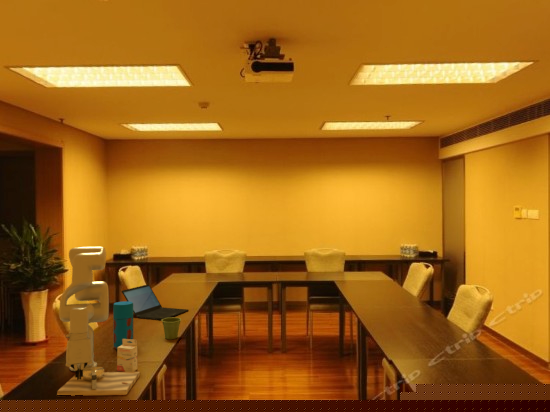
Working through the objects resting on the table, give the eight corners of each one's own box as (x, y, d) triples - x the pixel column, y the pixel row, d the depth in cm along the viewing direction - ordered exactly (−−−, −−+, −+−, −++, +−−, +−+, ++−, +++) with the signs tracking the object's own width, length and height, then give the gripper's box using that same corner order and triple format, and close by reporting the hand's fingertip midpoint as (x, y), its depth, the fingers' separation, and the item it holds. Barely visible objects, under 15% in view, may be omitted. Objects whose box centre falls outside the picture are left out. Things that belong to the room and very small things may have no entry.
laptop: (164, 321, 325) (164, 293, 325) (120, 317, 338) (120, 290, 339) (189, 311, 356) (189, 286, 356) (148, 308, 370) (148, 283, 370)
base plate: (77, 376, 218) (77, 372, 218) (139, 375, 219) (139, 371, 219) (57, 395, 196) (57, 390, 196) (126, 394, 197) (126, 389, 197)
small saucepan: (83, 375, 213) (83, 362, 213) (103, 372, 217) (103, 360, 217) (82, 391, 194) (82, 377, 194) (105, 388, 198) (105, 374, 198)
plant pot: (163, 341, 275) (163, 322, 275) (159, 336, 285) (159, 318, 286) (183, 339, 279) (183, 320, 280) (179, 334, 290) (178, 316, 290)
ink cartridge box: (116, 371, 225) (116, 341, 225) (122, 368, 230) (122, 338, 230) (132, 372, 223) (132, 342, 223) (137, 369, 228) (137, 339, 228)
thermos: (110, 346, 265) (110, 303, 265) (127, 342, 272) (127, 300, 273) (119, 350, 257) (119, 306, 257) (136, 346, 265) (136, 303, 265)
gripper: (59, 339, 194) (59, 384, 193) (97, 336, 200) (97, 379, 199) (60, 335, 201) (60, 378, 200) (97, 332, 207) (97, 373, 206)
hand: (79, 378), depth 200 cm, fingers closed
